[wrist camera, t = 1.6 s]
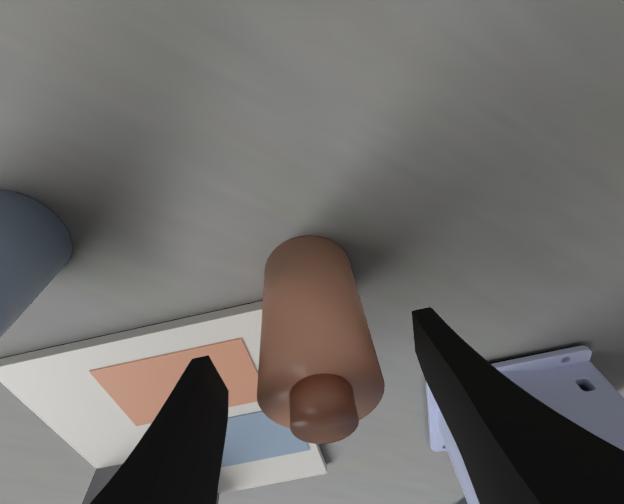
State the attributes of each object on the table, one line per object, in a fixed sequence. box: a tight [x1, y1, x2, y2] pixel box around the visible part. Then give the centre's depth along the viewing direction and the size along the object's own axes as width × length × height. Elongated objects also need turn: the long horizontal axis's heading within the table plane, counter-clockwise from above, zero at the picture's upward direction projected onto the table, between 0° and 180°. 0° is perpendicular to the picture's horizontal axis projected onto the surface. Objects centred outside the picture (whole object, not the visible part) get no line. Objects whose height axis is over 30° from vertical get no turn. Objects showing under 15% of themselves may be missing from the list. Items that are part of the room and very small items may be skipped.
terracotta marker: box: [257, 236, 384, 444], centre depth 14 cm, size 4×4×8 cm
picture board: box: [0, 301, 327, 504], centre depth 21 cm, size 14×16×3 cm
